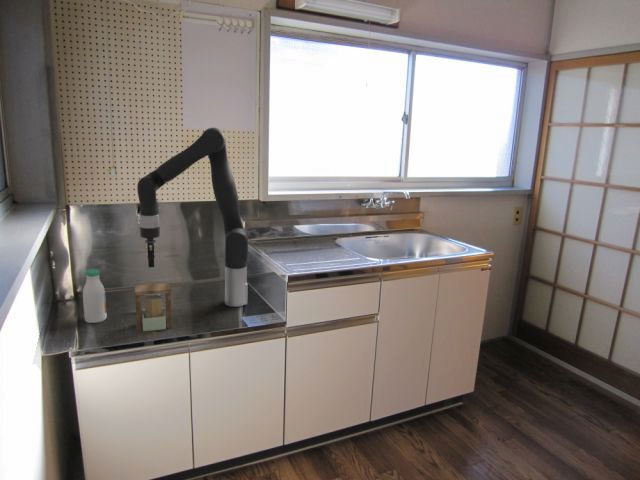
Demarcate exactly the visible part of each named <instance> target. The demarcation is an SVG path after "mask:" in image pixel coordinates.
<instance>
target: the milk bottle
mask: <svg viewBox="0 0 640 480" xmlns="http://www.w3.org/2000/svg"><path fill="white" fill-rule="evenodd" d="M85 277H86V281H85V284H84V286H83V289H82V301H83V317H84V321H85V322H86V323H89V324H95V323H96V324H98V323H102V322H103V321H105V320H106V319H107V317H108V316H107V315H108V314H107V299H106V290H105V287H104V285H103V283H102V282H101V279H100V270H99V269H97V268H91V269H87V270H85Z"/></svg>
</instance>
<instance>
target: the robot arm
mask: <svg viewBox="0 0 640 480" xmlns="http://www.w3.org/2000/svg"><path fill="white" fill-rule="evenodd" d="M207 156H208V157H207ZM205 157H207V158H208V160H209V164H210V174H211V184H212V190H213V195H214V199H215V203H216V204H217V208H218V210H219V213H220V216H221V218H222V221H223V222H222V223H223V227H224V239H225V242H224V243H225V244H224V245H225V246H224V247H225V248H224V249H225V250H224V253H225V255H224V304H225V305H226V306H228V307H230V308H231V307H232V308H237V307H242V306H245V305H246V306H247V305H248V288H249V287H248V282H247V277H248V276H247V275H248V274H247V273H248V272H247V271H248V269H247V268H248V256H249V255H248V252H249V250H248V248H249V242H248V241H249V239H248V235H247V233H246V231H245V228H244V225H243V222H242V218H241V215H240V202H239V195H238V189H237V186H236V182H235V177H234V174H233V171H232V168H231V166H230V163H229V160H228V159H229V158H228V153H227V141H226V135H225V133H224V132H223V131H222V130H221V129H219V128H217V127H209V128H207V129H205V130H204V131H203V132H202V134H201V135H200V136H199V137H198V138H197V139H196V140H195V141H194V142H193V143H192V144H191V145H189V146H188V147H187V148H185V149H184V150H182V151H181V152H179V153H177V154H175V155H173V156H172V157H171V158H169V159H167V160H166V161H164V162H163V163H162V164H160V165H159V166H158V167H157V168H156V169H154V170H153V171H151V172H149V173H148V174H146V175H145V176H143V177H141V178H140V179H139V180H138V182H137V188H136V189H137V195H138V199H139V200H138V201H139V233H140V234H139V235H140V238H142V239H146V240H145V241H144V242H145V243H144V244H145V249H146V251H145V252H146V254H147V262H148V268H155V258H156V257H155V253H156V246H157V245H156V244H157V243H156V239H155V238H159V237H160V236H161V229H160V228H161V227H160V213H159V209H160V208H159V203H158V201H157V191H158V190H159V189H161V188H162V187H163V186H164V185H166V184H167V183H169V182H171V181H173V180H174V179H175V178H177V177H178V176H180V175H182V173H184V172H185V171H186V170H188V169H190V167H191V166H193V165H194V164H196V163H197V162H199V161H200V160H202V159H204V158H205Z"/></svg>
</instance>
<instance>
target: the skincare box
mask: <svg viewBox="0 0 640 480" xmlns="http://www.w3.org/2000/svg"><path fill="white" fill-rule="evenodd" d="M163 308H164V307H163V297H162V296H161V295H160V296H159V295H157V294H148V295H144V309H145V318H152V317H163Z"/></svg>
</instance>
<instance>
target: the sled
mask: <svg viewBox="0 0 640 480" xmlns="http://www.w3.org/2000/svg"><path fill="white" fill-rule="evenodd" d="M146 295H148V294H146ZM157 295H159V296H160V297H161V293H159V294H157ZM141 316H142V317H141V321H142V332H150V331H160V330H167V323H166V307H163V317H152V318H145V308H143V309H142V308H141Z"/></svg>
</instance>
